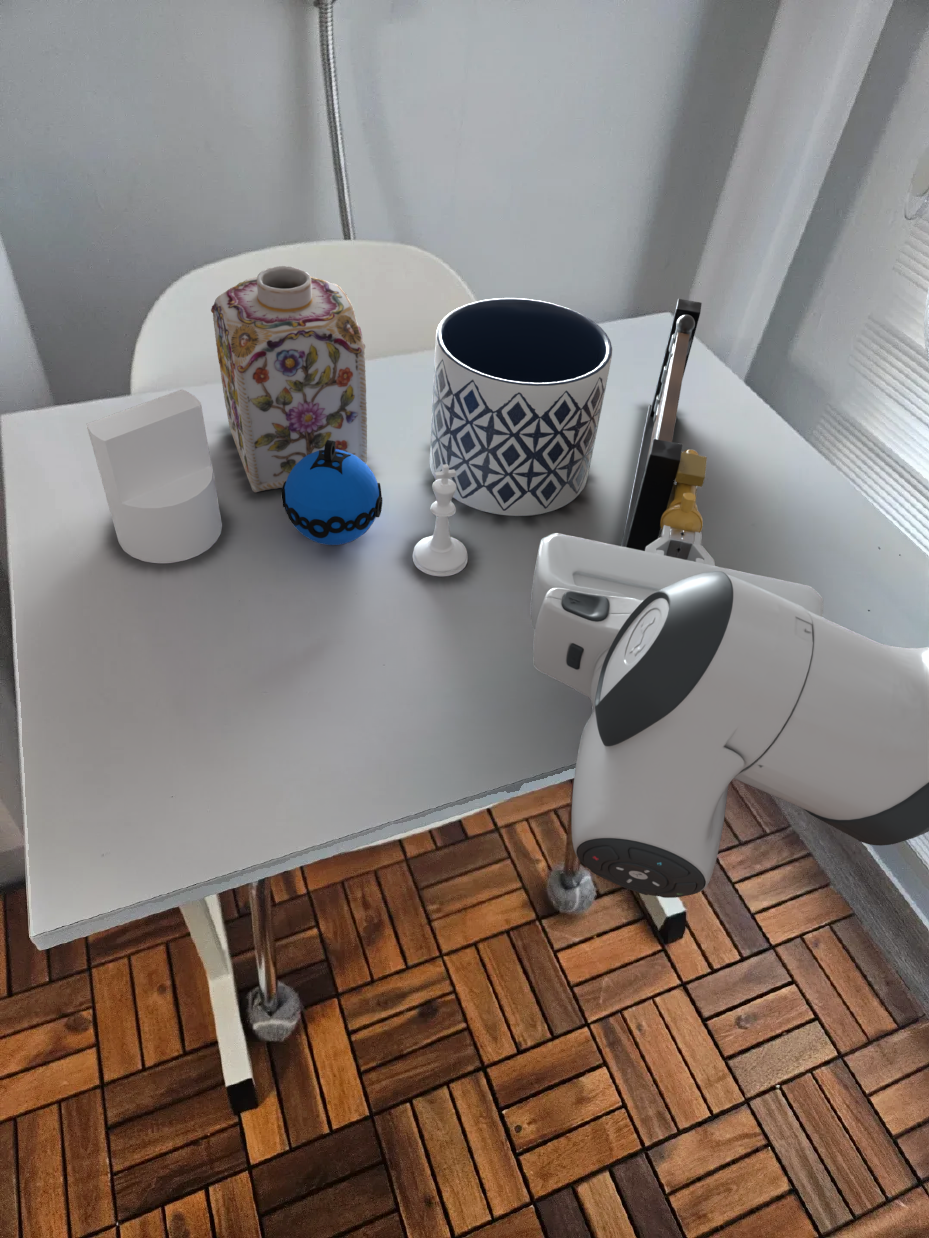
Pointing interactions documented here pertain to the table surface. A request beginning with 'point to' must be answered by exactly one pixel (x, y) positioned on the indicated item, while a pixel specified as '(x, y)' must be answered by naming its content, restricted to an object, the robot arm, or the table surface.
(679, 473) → the gate frame
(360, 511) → the ornament
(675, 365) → the gate
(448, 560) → the chess piece
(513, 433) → the planter
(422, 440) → the table surface
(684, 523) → the bolt
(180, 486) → the cylinder with rectangular tab
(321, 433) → the decorative jar
